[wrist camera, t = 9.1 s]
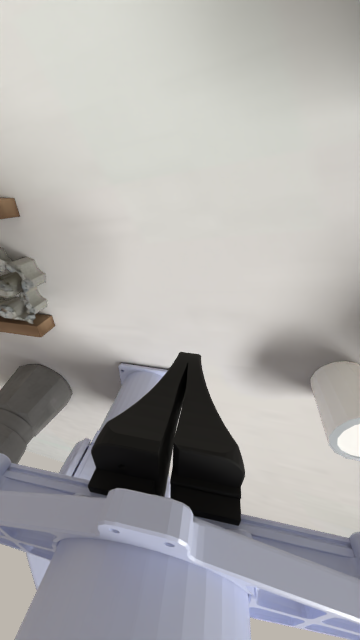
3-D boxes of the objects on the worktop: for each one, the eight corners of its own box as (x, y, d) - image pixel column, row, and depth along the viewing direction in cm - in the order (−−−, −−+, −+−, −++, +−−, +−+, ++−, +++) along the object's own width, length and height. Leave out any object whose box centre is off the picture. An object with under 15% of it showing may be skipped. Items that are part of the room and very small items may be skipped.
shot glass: (312, 405, 27) (337, 466, 21) (297, 366, 24) (320, 423, 18) (379, 393, 24) (428, 459, 18) (370, 348, 22) (425, 408, 16)
